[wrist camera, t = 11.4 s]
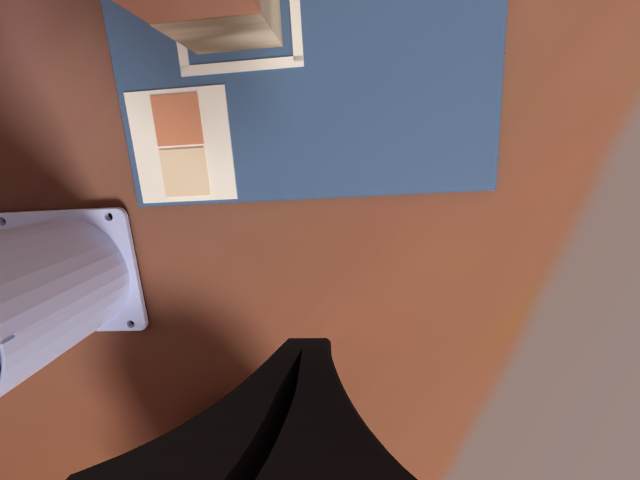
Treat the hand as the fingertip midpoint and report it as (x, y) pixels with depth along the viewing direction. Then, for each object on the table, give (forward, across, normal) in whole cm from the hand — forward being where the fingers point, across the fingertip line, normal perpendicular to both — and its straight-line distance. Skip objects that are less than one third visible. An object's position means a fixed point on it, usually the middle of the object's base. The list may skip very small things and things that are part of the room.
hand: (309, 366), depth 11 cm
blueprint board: (+10, +1, -11) cm, 15 cm away
